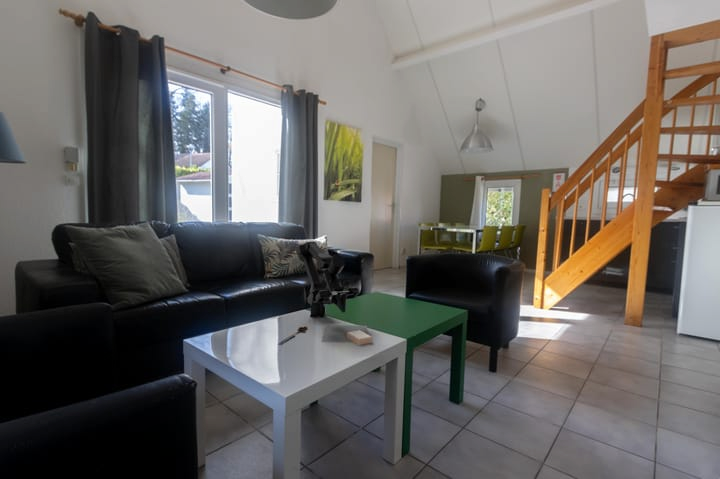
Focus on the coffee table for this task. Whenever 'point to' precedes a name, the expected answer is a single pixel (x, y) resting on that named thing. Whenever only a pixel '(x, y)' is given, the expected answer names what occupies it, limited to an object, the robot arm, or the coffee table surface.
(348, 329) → the mat
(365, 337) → the tile
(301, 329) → the sword
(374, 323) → the coffee table surface
